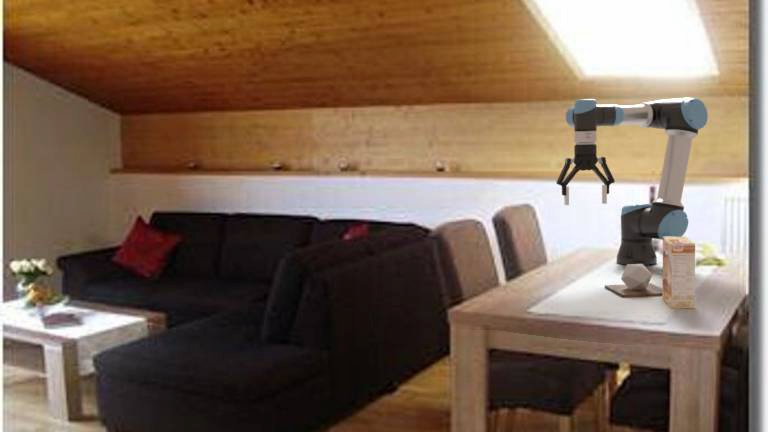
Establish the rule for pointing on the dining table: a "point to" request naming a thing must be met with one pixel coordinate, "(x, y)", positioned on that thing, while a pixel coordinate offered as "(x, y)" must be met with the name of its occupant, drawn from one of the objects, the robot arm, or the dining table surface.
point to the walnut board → (635, 291)
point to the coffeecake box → (678, 272)
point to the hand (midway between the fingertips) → (585, 204)
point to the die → (636, 276)
